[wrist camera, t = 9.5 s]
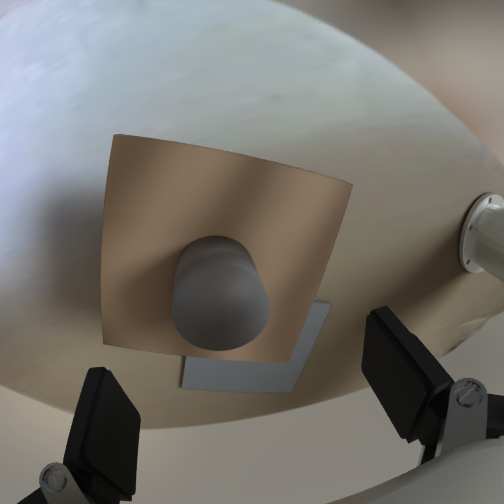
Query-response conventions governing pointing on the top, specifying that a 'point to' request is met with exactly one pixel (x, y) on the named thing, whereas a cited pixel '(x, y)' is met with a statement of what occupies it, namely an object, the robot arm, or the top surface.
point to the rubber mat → (256, 365)
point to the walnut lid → (212, 250)
